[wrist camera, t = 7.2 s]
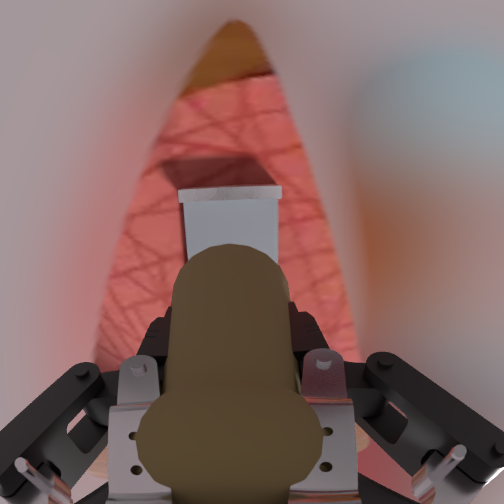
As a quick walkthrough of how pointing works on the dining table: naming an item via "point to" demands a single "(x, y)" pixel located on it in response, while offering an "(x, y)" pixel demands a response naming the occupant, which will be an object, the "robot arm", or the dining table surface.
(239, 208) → the slate shelf board
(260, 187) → the rail
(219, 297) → the cork
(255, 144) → the dining table surface
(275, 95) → the dining table surface
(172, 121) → the dining table surface
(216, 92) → the dining table surface
